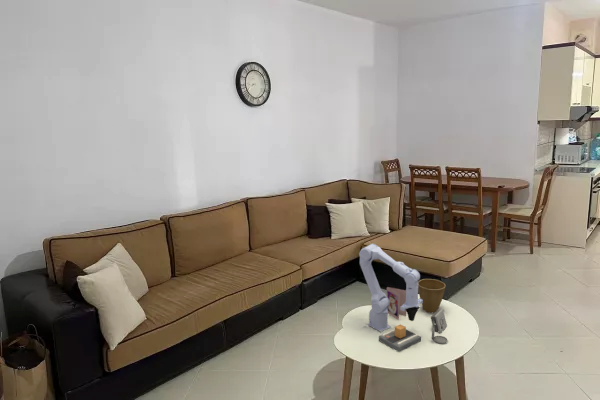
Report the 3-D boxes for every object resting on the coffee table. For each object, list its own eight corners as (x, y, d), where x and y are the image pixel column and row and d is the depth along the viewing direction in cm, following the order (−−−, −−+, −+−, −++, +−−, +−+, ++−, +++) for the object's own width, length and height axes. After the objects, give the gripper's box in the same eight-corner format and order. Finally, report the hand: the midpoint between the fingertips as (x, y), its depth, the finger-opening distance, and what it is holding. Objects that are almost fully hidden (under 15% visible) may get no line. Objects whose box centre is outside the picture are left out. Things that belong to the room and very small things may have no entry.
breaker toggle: (394, 335, 212) (394, 326, 211) (400, 333, 214) (400, 324, 213) (400, 338, 209) (400, 329, 208) (405, 336, 211) (405, 327, 210)
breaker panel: (378, 340, 213) (378, 334, 212) (400, 330, 222) (400, 324, 221) (399, 352, 203) (399, 345, 202) (421, 341, 212) (421, 334, 211)
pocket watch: (450, 343, 209) (451, 324, 207) (435, 346, 207) (436, 326, 205) (440, 335, 217) (441, 316, 215) (425, 337, 215) (426, 319, 213)
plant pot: (411, 310, 244) (412, 284, 241) (425, 302, 254) (426, 276, 251) (435, 319, 234) (436, 291, 231) (449, 310, 244) (450, 283, 240)
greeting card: (385, 312, 243) (385, 287, 240) (395, 309, 246) (396, 284, 243) (397, 320, 233) (398, 294, 230) (408, 317, 236) (409, 292, 233)
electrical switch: (440, 334, 218) (439, 316, 217) (430, 331, 221) (429, 314, 220) (447, 326, 225) (446, 309, 224) (437, 324, 229) (436, 308, 227)
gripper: (408, 301, 205) (407, 327, 208) (428, 293, 213) (427, 318, 216) (397, 296, 211) (396, 322, 213) (416, 289, 219) (416, 313, 222)
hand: (411, 320), depth 215 cm, fingers closed
